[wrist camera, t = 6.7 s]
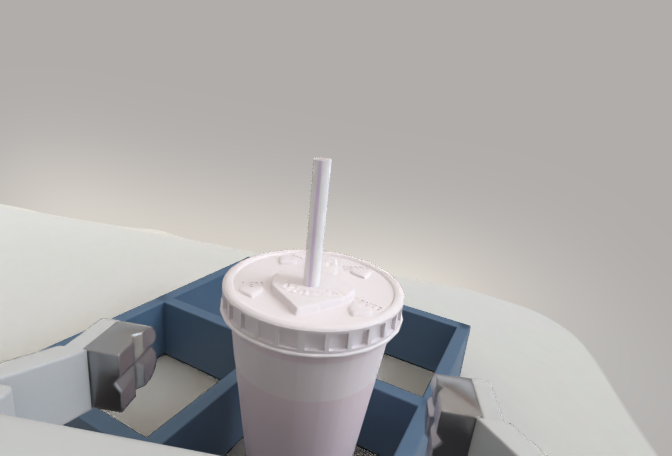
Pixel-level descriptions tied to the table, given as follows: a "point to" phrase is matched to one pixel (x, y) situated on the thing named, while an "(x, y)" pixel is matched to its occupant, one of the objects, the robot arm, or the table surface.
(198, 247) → the table surface
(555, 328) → the table surface
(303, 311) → the smoothie
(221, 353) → the blue compartment grid
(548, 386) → the table surface
